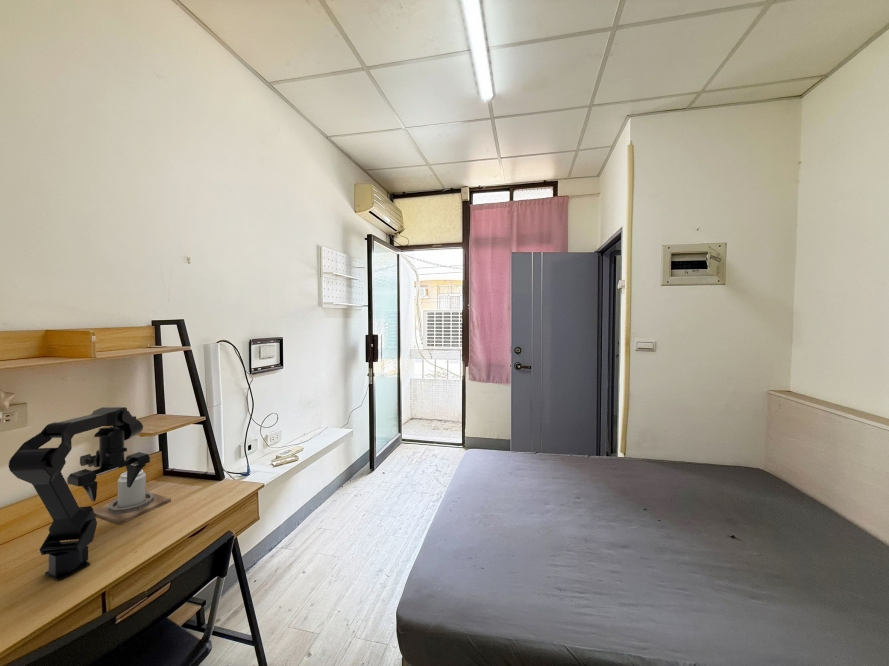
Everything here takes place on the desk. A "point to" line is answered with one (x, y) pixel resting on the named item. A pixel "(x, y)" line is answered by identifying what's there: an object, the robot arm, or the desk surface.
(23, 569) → the desk surface
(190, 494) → the desk surface
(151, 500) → the collar board
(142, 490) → the can
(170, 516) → the desk surface
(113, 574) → the desk surface
